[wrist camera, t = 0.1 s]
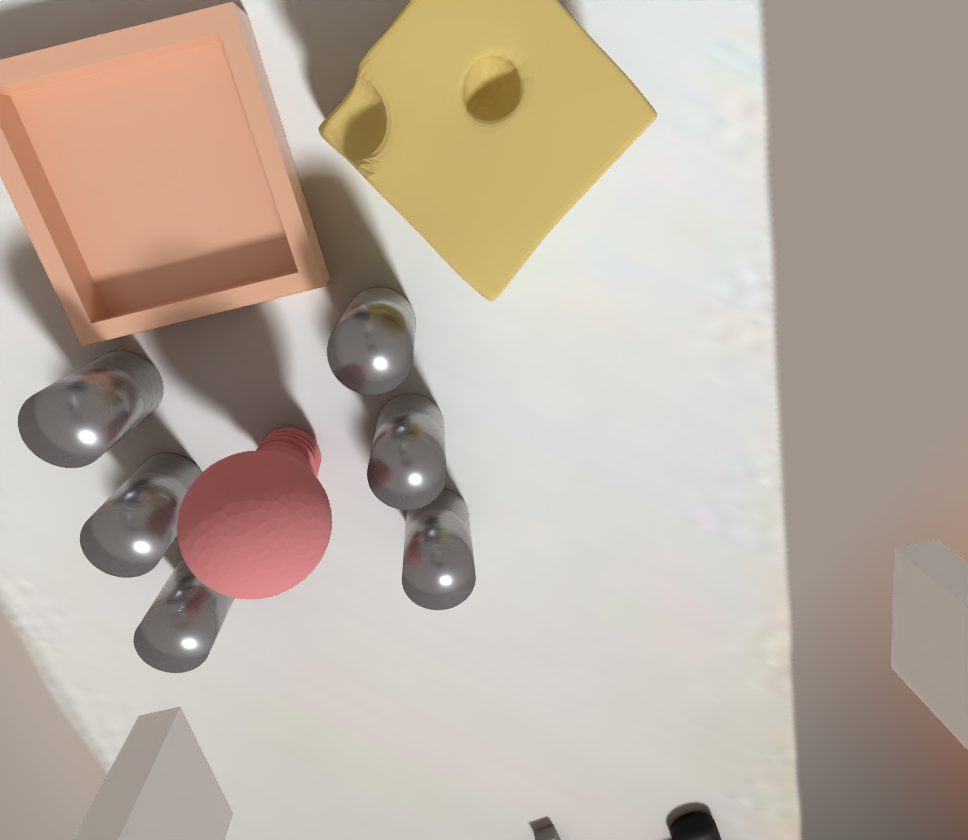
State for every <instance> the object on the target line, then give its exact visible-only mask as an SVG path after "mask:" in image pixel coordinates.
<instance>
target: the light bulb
mask: <svg viewBox="0 0 968 840" xmlns="http://www.w3.org/2000/svg"><path fill="white" fill-rule="evenodd" d="M320 463H321V453H320V450H319V446H318V445H317V443H316V441H315V440H314V439H313V438H312V437H311V436H310V435H309V434H307V433H306V432H304V431H302V430H300V429H298V428H291V427H284V428H279V429H277V430H275V431H273V432H272V433H270V434H268V435H267V436H266V437H265V438H264V440H263V441H262V443H261V444H260V445H259V447H258V448H257V450H256V451H247V452H242V453H237V454H234V455H231V456H228V457H226V458H224V459H222V460H220V461H218V462H216V463H214V464H213V465H211V466H210V467H209V468H207V469H206V470H205V471H203V472H202V473H201V474H200V475H199V476H198V477H197V478H196V479H195V481H194V482H193V484H192V485H191V486H190V488H189V489H188V491H187V492H186V494H185V496H184V498H183V501H182V504H181V507H180V509H179V513H178V518H177V539H178V545H179V548H180V551H181V555H182V557H183V559H184V561H185V563H186V564H187V566H188V567H189V569H190V570H191V572H192V573H193V574H194V575H195V576H196V578H198V579H199V580H200V581H201V582H202V583H203V584H205V585H206V586H207V587H209V588H211V589H212V590H214V591H216V592H218V593H221V594H224V595H226V596H230V597H234V598H239V599H262V598H267V597H271V596H275V595H278V594H280V593H283V592H285V591H287V590H289V589H291V588H293V587H294V586H296V585H297V584H298V583H300V582H301V581H303V580H304V579H305V578H306V577H307V576H308V575H309V574H310V573H311V572H312V571H313V570H314V569H315V567H316V566H317V565H318V563H319V562H320V560H321V559H322V557H323V555H324V553H325V550H326V548H327V546H328V543H329V540H330V535H331V530H332V515H331V508H330V504H329V500H328V497H327V494H326V492H325V490H324V488H323V486H322V485H321V483H320V482H319V480H318V479H317V475H318V472H319V467H320Z"/></svg>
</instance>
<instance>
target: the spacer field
mask: <svg viewBox="0 0 968 840" xmlns="http://www.w3.org/2000/svg"><path fill="white" fill-rule="evenodd" d="M415 329H416V318H415V313H414V310H413V308H412V306H411V304H410V303H409V302H408V300H407V299H406V298H405V297H404V296H403V295H401V294H400V293H398V292H397V291H395V290H392V289H389V288H385V287H374V288H369V289H366V290H364V291H362V292H361V293H359V294H358V295H357V296H355V297H354V299H353V300H352V301H351V302H350V304H349V306H348V307H347V309H346V311H345V312H344V314H343V316H342V317H341V319H340V321H339V322H338V324H337V326H336V327H335V329H334V331H333V332H332V334H331V336H330V339H329V342H328V348H327V356H328V362H329V365H330V368H331V370H332V372H333V373H334V375H335V376H336V378H337V379H338V380H339V381H340V382H341V383H342V384H343V385H345V386H346V387H347V388H349V389H351V390H353V391H355V392H358V393H362V394H368V395H376V394H382V393H385V392H388V391H390V390H393V389H394V388H396V387H397V386H398V385H400V384H401V383H402V382H403V381H404V379H405V378H406V377H407V375H408V373H409V371H410V369H411V366H412V361H413V351H414V340H415ZM162 397H163V382H162V378H161V376H160V374H159V372H158V371H157V369H156V368H155V367H154V365H153V364H152V363H151V362H150V361H148V360H147V359H146V358H144V357H142V356H141V355H138V354H136V353H133V352H129V351H113V352H109V353H107V354H105V355H103V356H101V357H99V358H97V359H96V360H94V361H92V362H90V363H89V364H87V365H85V366H83V367H82V368H80V369H78V370H76V371H75V372H73V373H71V374H69V375H68V376H66V377H64V378H62V379H60V380H59V381H57V382H55V383H53V384H52V385H50V386H48V387H46V388H45V389H43V390H41V391H39V392H38V393H36V394H34V395H32V396H31V397H30V398H28V399H27V400H26V401H25V403H24V404H23V405H22V407H21V409H20V412H19V416H18V427H19V432H20V435H21V437H22V439H23V441H24V443H25V444H26V445H27V447H28V448H29V449H30V450H31V451H32V452H33V453H34V454H35V455H36V456H38V457H39V458H41V459H42V460H44V461H46V462H48V463H50V464H52V465H55V466H59V467H65V468H78V467H83V466H86V465H89V464H91V463H93V462H94V461H96V460H97V459H98V458H99V457H100V456H102V455H103V454H104V453H105V452H106V451H107V450H108V449H110V448H111V447H112V446H113V445H114V444H115V443H116V442H118V441H119V440H120V439H121V438H122V437H123V436H125V435H126V434H127V433H128V432H129V431H130V430H131V429H133V428H134V427H135V426H136V425H137V424H138V423H139V422H141V421H142V420H143V419H144V418H145V417H146V416H147V415H149V414H150V413H151V412H152V411H153V410H154V409H155V408H156V407H157V406H158V405H159V403H160V402H161V399H162ZM201 473H202V471H201V470H200V468H199V467H198V466H197V465H196V464H195V463H194V462H193V461H191V460H190V459H188V458H186V457H184V456H181V455H178V454H173V453H162V454H157V455H154V456H152V457H150V458H149V459H147V460H146V461H145V462H144V463H143V464H142V465H141V466H140V467H139V468H138V469H137V470H136V471H135V472H134V473H133V474H132V475H131V476H130V477H129V478H128V479H127V480H126V481H125V482H124V483H123V484H122V485H121V486H120V487H119V488H118V489H117V490H116V491H115V493H114V494H113V495H112V496H111V497H110V498H109V499H108V500H107V501H106V502H105V503H104V504H103V505H102V506H101V507H100V508H99V509H98V510H97V511H96V512H95V513H94V514H93V515H92V516H91V517H90V518H89V519H88V520H87V521H86V523H85V524H84V526H83V527H82V530H81V534H80V544H81V548H82V551H83V553H84V555H85V556H86V558H87V559H88V560H89V561H90V562H91V563H92V564H93V565H94V566H95V567H96V568H98V569H99V570H101V571H103V572H105V573H107V574H110V575H113V576H117V577H127V578H128V577H137V576H140V575H143V574H146V573H148V572H149V571H151V570H152V569H153V568H154V567H155V566H156V565H157V564H158V563H159V561H160V560H161V558H162V557H163V555H164V554H165V552H166V551H167V550H168V548H169V547H170V545H171V544H172V542H173V541H174V539H175V538H176V537H177V518H178V513H179V509H180V507H181V504H182V501H183V498H184V496H185V494H186V492H187V491H188V489H189V488H190V486H191V485H192V484H193V482H194V481H195V479H196V478H197V477H198V476H199V475H200V474H201ZM446 475H447V474H446V456H445V437H444V421H443V416H442V413H441V411H440V409H439V408H438V407H437V405H436V404H435V403H434V402H432V401H431V400H430V399H428V398H426V397H424V396H421V395H418V394H403V395H399V396H397V397H395V398H393V399H391V400H390V401H388V402H387V403H386V404H385V405H384V407H383V408H382V410H381V412H380V414H379V417H378V422H377V426H376V431H375V436H374V441H373V446H372V450H371V455H370V460H369V465H368V470H367V478H368V483H369V486H370V488H371V490H372V492H373V493H374V495H375V496H376V497H377V498H378V499H379V500H380V501H382V502H383V503H385V504H386V505H388V506H390V507H393V508H396V509H402V510H407V513H406V527H405V542H404V556H403V571H402V585H403V589H404V591H405V593H406V595H407V596H408V597H409V598H410V599H411V600H412V601H413V602H414V603H415V604H417V605H419V606H421V607H423V608H427V609H431V610H444V609H449V608H452V607H455V606H457V605H459V604H460V603H462V602H463V601H465V600H466V599H467V598H468V596H469V595H470V594H471V592H472V591H473V588H474V585H475V580H476V576H475V566H474V557H473V548H472V539H471V531H470V522H469V513H468V508H467V505H466V503H465V502H464V500H463V499H462V498H461V497H460V496H459V495H458V494H456V493H455V492H453V491H451V490H447V489H443V488H444V485H445V482H446ZM233 600H234V597H230V596H226V595H224V594H221V593H218V592H216V591H214V590H212V589H211V588H209V587H207V586H206V585H205V584H203V583H202V582H201V581H200V580H199V579H198V578H196V576H195V575H194V574H193V573H192V572H191V570H190V569H189V567H188V566H187V564H186V563H185V561H184V559H183V557H182V559H181V560H180V562H179V563H178V565H177V567H176V568H175V570H174V571H173V573H172V574H171V576H170V577H169V579H168V581H167V582H166V584H165V585H164V587H163V588H162V590H161V592H160V593H159V595H158V596H157V598H156V599H155V601H154V603H153V604H152V606H151V607H150V609H149V610H148V612H147V613H146V615H145V617H144V618H143V620H142V621H141V623H140V624H139V626H138V628H137V629H136V631H135V634H134V646H135V649H136V651H137V653H138V655H139V656H140V657H141V659H142V660H143V661H144V662H146V663H147V664H148V665H150V666H151V667H153V668H155V669H158V670H161V671H164V672H170V673H182V672H187V671H190V670H193V669H195V668H197V667H198V666H200V665H201V664H202V663H203V662H204V661H205V660H206V658H207V657H208V655H209V652H210V650H211V648H212V646H213V644H214V641H215V639H216V637H217V635H218V633H219V631H220V628H221V626H222V624H223V622H224V620H225V617H226V615H227V613H228V611H229V609H230V606H231V604H232V602H233Z"/></svg>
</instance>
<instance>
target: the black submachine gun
mask: <svg viewBox="0 0 968 840" xmlns="http://www.w3.org/2000/svg"><path fill="white" fill-rule="evenodd" d="M534 833H535V840H560V838H559V835H558V833H557V831H556V829H555V827H554V825H550V826H547V827H544V828H541V829H538V830H535V831H534ZM671 836H672V839H673V840H721V837H720V835H719V832H718V829H717V826H716V823H715V821H714V819H713V818H712V817H711V816H710V815H708V814H706V813H704V812H691V813H688V814H685V815H683V816H681V817H679V818H678V819H676V820H675V822H674V823H673V825H672V827H671Z"/></svg>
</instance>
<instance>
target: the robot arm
mask: <svg viewBox="0 0 968 840" xmlns="http://www.w3.org/2000/svg"><path fill="white" fill-rule="evenodd" d="M891 668H892V669H893V670H894V671H895V672H896V673H897V674H898V675H899V676H900V677H901V679H902V680H903V681H904V682H905V683H906V684H907V685H908V686H909V687H910V688H911V689H912V690H913V692H914V693H915V694H916V695H917V696H918V697H919V698H920V699H921V700H922V701H923V702H924V703H925V704H926V706H928V708H929V709H930V710H931V711H932V712H933V713H934V714H935V715H936V716H937V717H938V718H939V719H940V720H941V722H942V723H943V724H944V725H945V726H946V727H947V728H948V729H949V730H950V731H951V732H952V733H953V735H954V736H955V737H956V738H957V739H958V740H959V741H960V742H961V743H962V744H963V745H964V746H965V748H967V750H968V562H967V561H965V560H964V559H963V558H961V557H960V556H959V555H957V554H956V553H954V552H953V551H952V550H950V549H949V548H948V547H946V546H945V545H943V544H942V543H941V542H939V541H938V540H937V539H935V540H930V541H926V542H922V543H917V544H912V545H908V546H904V547H899V548H895V549H894V580H893V618H892V654H891ZM232 814H233V812H232V810H231V808H230V806H229V804H228V802H227V800H226V798H225V796H224V794H223V792H222V790H221V788H220V786H219V784H218V782H217V780H216V778H215V776H214V774H213V772H212V770H211V768H210V766H209V764H208V762H207V760H206V758H205V756H204V754H203V752H202V749H201V747H200V745H199V743H198V741H197V739H196V737H195V735H194V733H193V731H192V729H191V727H190V725H189V723H188V721H187V719H186V717H185V715H184V713H183V711H182V709H181V707H177V708H173V709H168V710H164V711H159V712H155V713H150V714H146V715H141V716H139V717H138V719H137V720H136V722H135V724H134V726H133V728H132V730H131V732H130V734H129V735H128V737H127V739H126V741H125V743H124V745H123V747H122V748H121V750H120V752H119V754H118V756H117V758H116V760H115V762H114V763H113V765H112V767H111V769H110V771H109V773H108V775H107V777H106V779H105V780H104V782H103V784H102V786H101V788H100V790H99V792H98V793H97V795H96V797H95V799H94V801H93V803H92V805H91V806H90V808H89V810H88V812H87V814H86V816H85V818H84V819H83V821H82V824H81V825H80V827H79V829H78V831H77V833H76V835H75V837H74V838H73V840H225V837H226V834H227V831H228V827H229V824H230V821H231V818H232Z"/></svg>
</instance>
